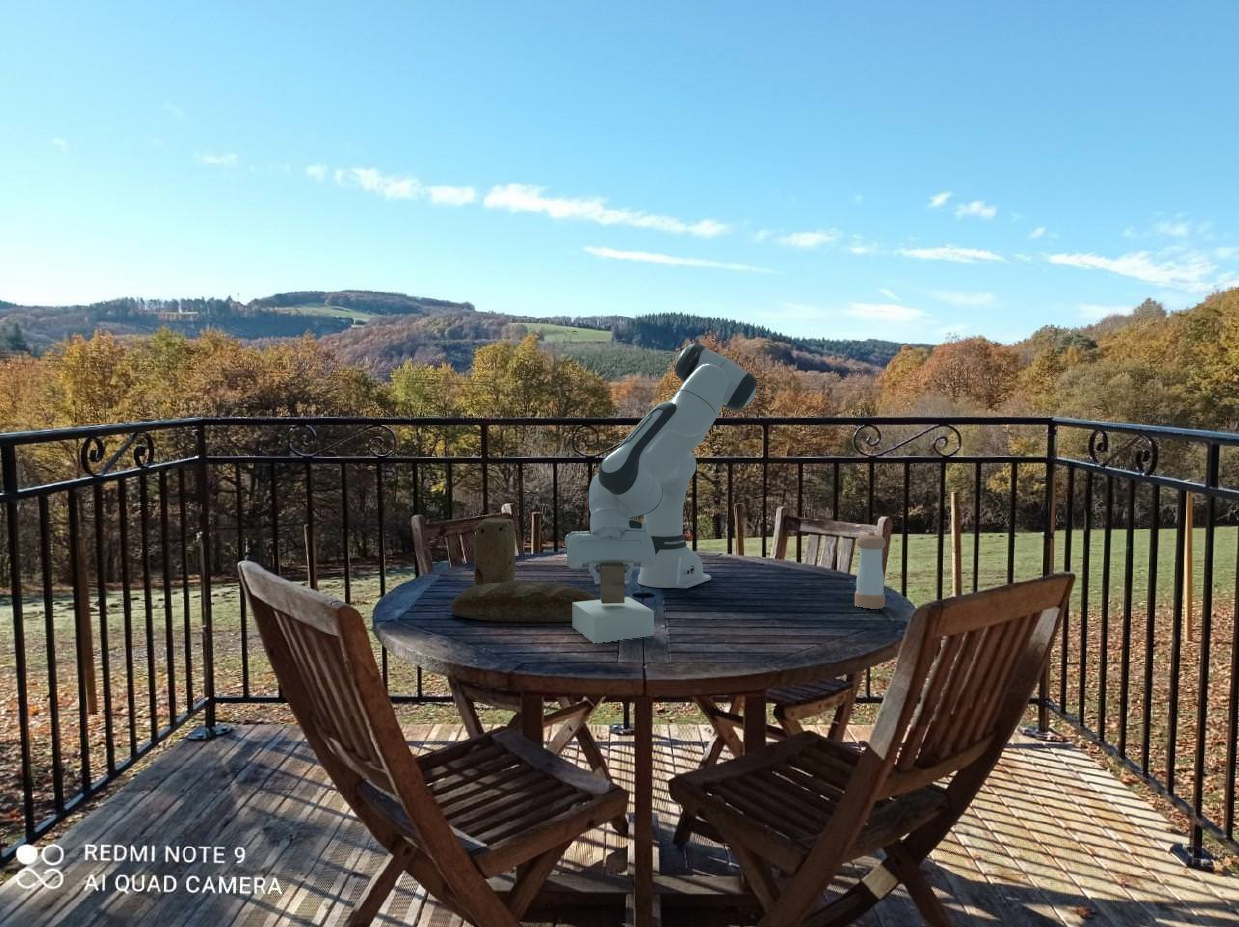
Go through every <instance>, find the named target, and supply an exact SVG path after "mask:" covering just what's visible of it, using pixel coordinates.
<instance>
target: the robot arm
mask: <svg viewBox="0 0 1239 927" xmlns="http://www.w3.org/2000/svg"><path fill="white" fill-rule="evenodd" d="M674 371H675V375H676V376H677V377H678V378H679V379H680V381H682V384H681V386H680V387H679V389H678V390H677V391H676V392H675V394H674V395H673V397H671V398H670V400H668V401H662V402H660V403H658V404H657V405H656V404H655V406H654V407H653V408H652V409H651V410H650V411H648V412H647V413H646V415H645V416H644V417H643V418H641V420H640V421H639V423H638V424H637V425H636V426H634V428H633V429H632V430H631V432H630V433H628V435H627V436H625V438H624V439H623V440H622V442H620V444H619V445H618V446H617V447H615V448H614V449H612V451H610V452H609V453H608V454H606V455H605V457H603V459H602V461H601V463H600V464H599V467H598V468H599V469H598V473H596V474H595V475H594V476H593V477H592V479H591V482H590V485H589V489H588V509H589V512H590V517H589V529H590V530H587V531H586V530H583V531H571V532H569V533H567V534H566V535H565V538H564V546H565V547H566V549H567V550H566V566H567V567H568V568H569V569H572V570H573V569H575V570H576V569H577V570H578V569H583V570H584V569H588V571H589V573H590V574H591V576H592V577H593V579H594V584H595V585H596V584H599V585H600V584H601V573H600V572H597V570H596V569H600V563H623V565H624V567H625V569H626V571H627V572H625V584H631V575H632V573H633V572H634V568H636V569H639V573H638V575H637V583H638V584H639V585H640V586H641V585H642V586H645V587H650V588H660V589H663V588H665V589H668V588H669V589H671V588H673V589H677V588H678V589H688V588H691V587H693V586H697V585H700V584H702V583H705V582H707V581H711V580H712V576H711V575H710V574H708V573H704V566H703V561H702V558H701V557H700V556H699V555H697V554H696V553H694V551H692V550H691V549H690V548H689V547H688V545H687V542H693V538H694V536H693V535H692V534H689V533H686V534H684V533H683V523H684V522H683V520H684V515H683V514H684V506H685V505H684V504H685V499H686V495H687V492H688V491H687V490H688V487H689V484H690V481H691V479H692V477H693V476H694V474H695V472H696V470H697V459H696V457H695V455H694V453H692V451H693V450H695V449H696V448H697V447H698V446H699V445H700V444H702V441H704V439H705V437H706V436H707V434H708V432H709V431H710V429H711V427H712V426H713V425H714V422H715V421H716V419H717V417H718V416H719V414H720V412H721V410H722V408H723V406H725V409H729V410H733V411H739V410H741V411H742V410H743V408H745V407H747V406H748V405H749V404H750V403H751V402H752V401H753V399H754V398H755V395H756V393H757V386H758V382H757V381H758V380H757V378H756V377H755V376H754V375H753V374H752V373H751V372H749V371H746V370H745V369H743V368H742V367H741V366H740V365H738V364H737V363H735V362H734V361H733V360H731V359H729V358H727V357H725V356H723V355H721V354H719V353H717V352H716V351H713V350H711V349H709V348H706V346H705V345H703V344H701V343H697V342H694V343H691V344H688V345H687V346H686V347H685V348H683V349H682V351H681V352H680V353H679V354H678V356H677V357H676V362H675V367H674ZM641 516H643V521H641V520H637V519H633V518H637V517H641Z"/></svg>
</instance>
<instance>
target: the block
mask: <svg viewBox="0 0 1239 927" xmlns="http://www.w3.org/2000/svg"><path fill="white" fill-rule="evenodd" d="M514 523H515V522H514V520H513V519H512V518H500V517H493V518H490V517H488V518H487V517H486V518H484V519H482V520H481V521H480V522H479V523H478V524H477V527H476V530H475V534H474V541H473V542H474V543H473V544H474V545H473V562H474V565H473V568H474V569H473V570H474V571H473V586H476V585H482V584H488V583H503V582H506V581H515V576H516V535H515V524H514Z"/></svg>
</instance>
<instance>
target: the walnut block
mask: <svg viewBox="0 0 1239 927" xmlns="http://www.w3.org/2000/svg"><path fill="white" fill-rule="evenodd" d="M599 569H600V570H599V573H601V584H599V585H600V586H599V588H600V589H599V594H600V595H599V598H600V599H599V600H601V602H602V604H611V603H625V597H626V596H625V595H626V594H625V587H626V586H625V585H626V583H625V573H626V572H625V569H626V568H625V567H624V565H623V563H600V568H599Z"/></svg>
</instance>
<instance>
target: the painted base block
mask: <svg viewBox="0 0 1239 927" xmlns="http://www.w3.org/2000/svg"><path fill="white" fill-rule="evenodd" d="M571 626H572V628H573V629H574V630H576V631H577V632H578V633H579V634H581V633H582V634H583V635H584V636H583V635H582V634H581V635H582V636H583V637H585V638H586V639H587V638H588V639H587V640H589V642H591V641H592V642H591V643H592V644H594V645H595V643H597V644H603V642H605V643H612V642H611V641H614V642H618V641H617V640H622V641H624V640H623V639H630V640H633V639H632V638H639V637H646V636H652V635H654V636H655V611H654V610H653V609H651V608H649V607H647V606H646V605H644V604H642V603H640V602H638V601H637V600H635V599H633V598H632V597H630V596H625V603H611V604H602V602H601V599H598V600H592V601H582V602H572V625H571ZM639 639H640V638H639Z"/></svg>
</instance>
